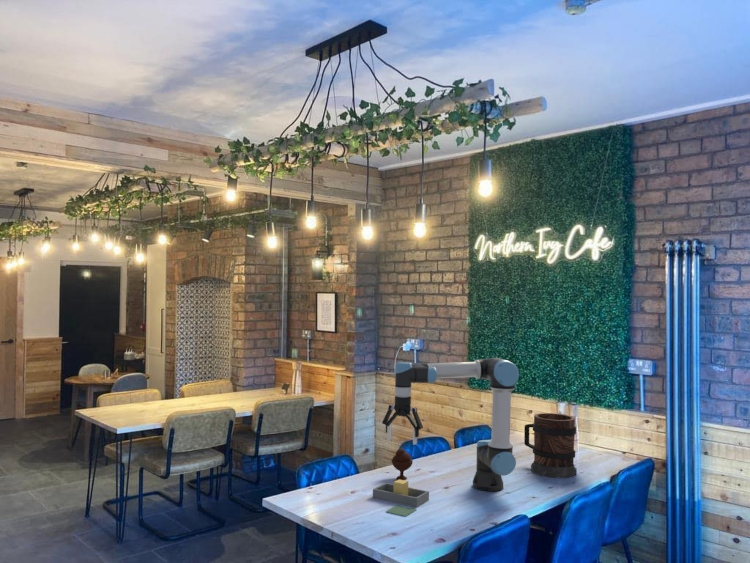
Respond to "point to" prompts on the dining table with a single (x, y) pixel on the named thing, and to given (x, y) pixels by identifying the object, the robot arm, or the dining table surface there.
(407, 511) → the green pad
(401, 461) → the ice cream bowl
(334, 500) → the dining table surface
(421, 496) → the charcoal bin
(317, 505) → the dining table surface
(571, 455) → the wooden beer tankard
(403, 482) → the mustard block
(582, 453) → the dining table surface
